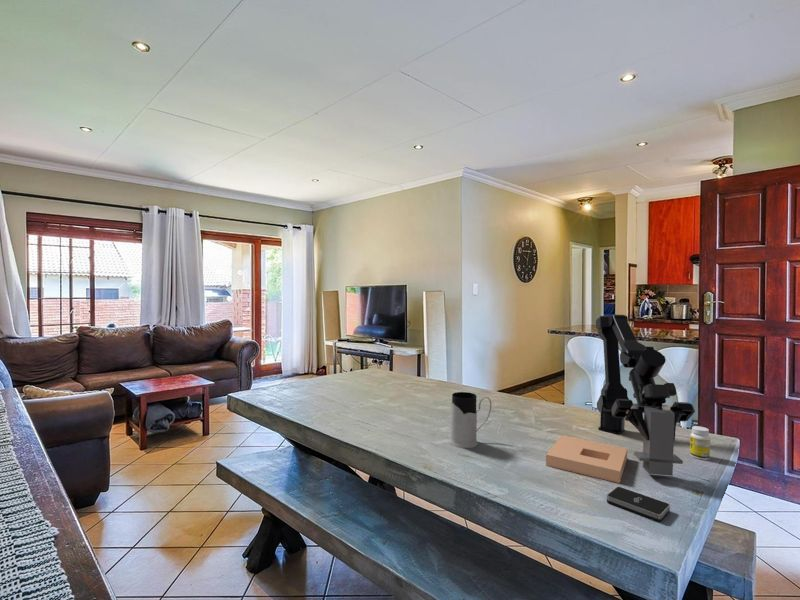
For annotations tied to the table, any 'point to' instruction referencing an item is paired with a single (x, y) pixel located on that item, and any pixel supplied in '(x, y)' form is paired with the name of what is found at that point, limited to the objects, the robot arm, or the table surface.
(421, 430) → the table surface
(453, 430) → the grey mug
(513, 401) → the table surface
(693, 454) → the supplement bottle
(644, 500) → the external hard drive
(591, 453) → the plate
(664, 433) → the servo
